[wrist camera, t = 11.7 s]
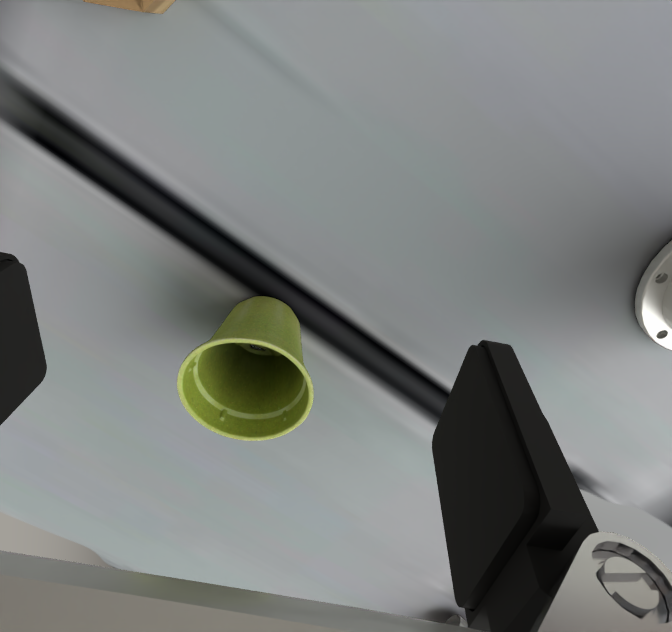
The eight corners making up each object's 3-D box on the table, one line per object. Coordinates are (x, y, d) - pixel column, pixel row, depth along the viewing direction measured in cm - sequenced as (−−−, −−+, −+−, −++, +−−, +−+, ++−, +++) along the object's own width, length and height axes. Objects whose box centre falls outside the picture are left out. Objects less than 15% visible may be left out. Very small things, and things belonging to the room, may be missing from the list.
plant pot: (219, 262, 35) (186, 322, 28) (333, 295, 37) (330, 361, 30) (201, 352, 40) (169, 423, 33) (303, 378, 42) (293, 453, 34)
